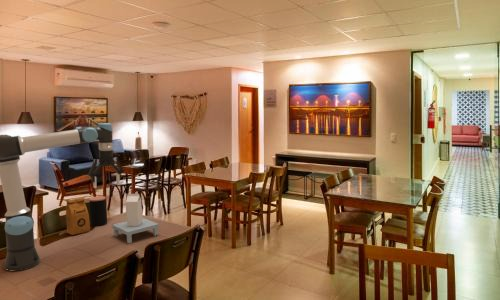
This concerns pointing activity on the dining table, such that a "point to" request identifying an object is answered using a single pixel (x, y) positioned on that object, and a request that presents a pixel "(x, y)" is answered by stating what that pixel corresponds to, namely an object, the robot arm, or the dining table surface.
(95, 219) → the coffee jar
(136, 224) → the milk carton
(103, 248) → the dining table surface
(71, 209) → the coffee package
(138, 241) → the dining table surface
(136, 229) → the grey square footed tray
